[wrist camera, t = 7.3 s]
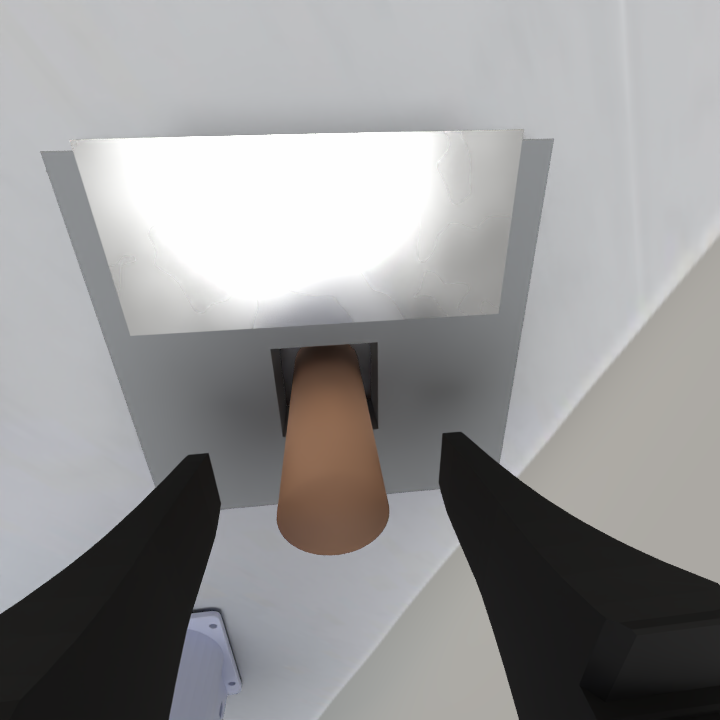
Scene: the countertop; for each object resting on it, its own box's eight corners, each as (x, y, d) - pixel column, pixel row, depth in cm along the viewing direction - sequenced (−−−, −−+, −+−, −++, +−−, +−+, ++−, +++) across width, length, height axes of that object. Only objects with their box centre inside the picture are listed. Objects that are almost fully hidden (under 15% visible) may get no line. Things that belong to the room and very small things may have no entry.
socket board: (477, 451, 22) (496, 483, 19) (181, 477, 20) (164, 514, 18) (518, 143, 15) (553, 138, 13) (84, 154, 14) (40, 151, 12)
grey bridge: (454, 278, 15) (498, 313, 11) (179, 292, 14) (130, 335, 10) (465, 141, 13) (523, 129, 9) (144, 148, 12) (69, 139, 8)
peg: (359, 389, 19) (390, 548, 11) (298, 395, 19) (285, 561, 11) (356, 333, 18) (388, 467, 10) (290, 339, 18) (268, 480, 10)
